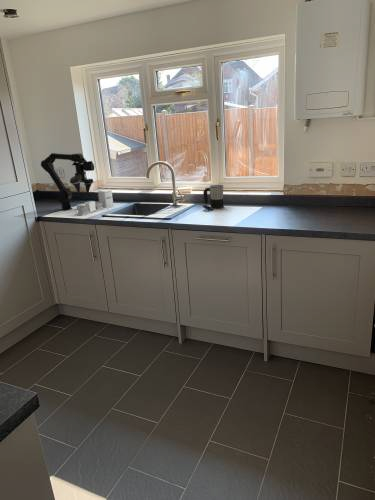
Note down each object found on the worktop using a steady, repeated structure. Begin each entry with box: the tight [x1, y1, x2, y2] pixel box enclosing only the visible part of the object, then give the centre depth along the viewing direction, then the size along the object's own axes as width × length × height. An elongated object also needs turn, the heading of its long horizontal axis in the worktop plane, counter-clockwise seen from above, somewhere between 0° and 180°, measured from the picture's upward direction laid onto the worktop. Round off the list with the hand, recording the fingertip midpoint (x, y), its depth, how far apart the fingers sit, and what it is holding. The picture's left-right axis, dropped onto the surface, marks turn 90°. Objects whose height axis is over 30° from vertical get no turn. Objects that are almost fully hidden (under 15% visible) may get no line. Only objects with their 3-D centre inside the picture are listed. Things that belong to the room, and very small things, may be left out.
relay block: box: [76, 203, 85, 211], centre depth 298 cm, size 4×4×4 cm
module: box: [84, 200, 96, 211], centre depth 283 cm, size 4×6×6 cm
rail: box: [76, 201, 106, 217], centre depth 283 cm, size 6×22×6 cm, turn 147°
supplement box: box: [97, 189, 114, 209], centre depth 295 cm, size 7×7×13 cm
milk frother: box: [202, 184, 225, 212], centre depth 265 cm, size 14×16×15 cm
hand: (83, 192), depth 293 cm, fingers open, 9 cm apart
